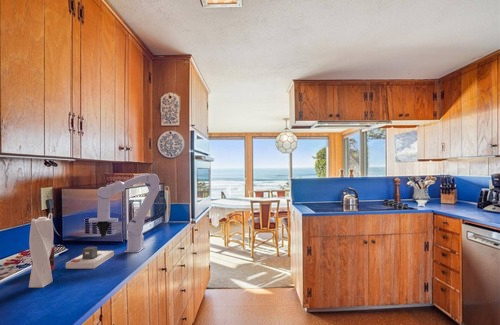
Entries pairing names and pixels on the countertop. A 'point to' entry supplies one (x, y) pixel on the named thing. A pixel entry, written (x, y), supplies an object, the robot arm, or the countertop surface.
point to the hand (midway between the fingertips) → (103, 236)
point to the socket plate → (90, 260)
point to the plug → (89, 253)
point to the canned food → (51, 257)
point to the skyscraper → (41, 251)
